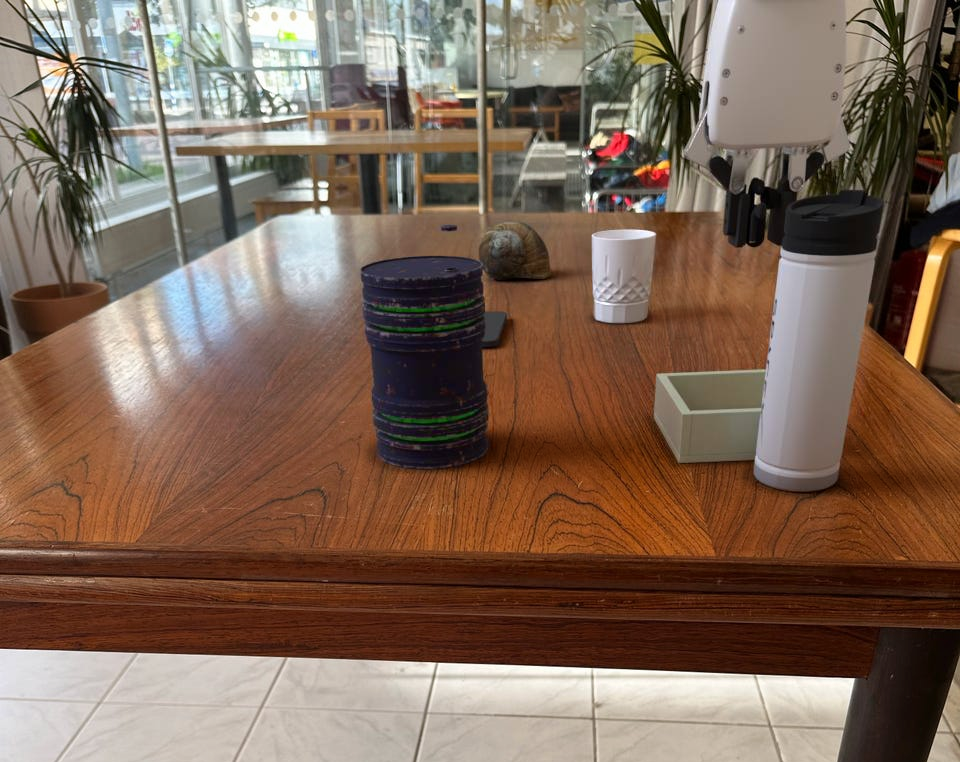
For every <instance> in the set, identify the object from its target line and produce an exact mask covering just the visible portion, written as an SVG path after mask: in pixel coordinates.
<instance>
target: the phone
mask: <svg viewBox="0 0 960 762" xmlns="http://www.w3.org/2000/svg"><path fill="white" fill-rule="evenodd" d="M484 319H485V325H486V328H485V336H484V338H483V339H482V348H492V347H493V348H494V347H496V346H498V345H499V343H500V340H501V337H502V333H503V332H504V329H505V326H506V323H507V319H508V313H507V312H506V311H500V310H499V311H498V310H497V311H496V310H494V311H493V310H490V311H488V310H487V311H486V310H485V314H484Z"/></svg>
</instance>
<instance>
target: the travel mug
mask: <svg viewBox="0 0 960 762" xmlns="http://www.w3.org/2000/svg"><path fill="white" fill-rule="evenodd" d="M869 192H870V191H869V190H868V189H867V190H866V189H848V188H847V189H846V188H843V189H840V190H839V192H838V193H830V194H820V195H814V196H808V197H804V198H801V199H797V201H795V202H792V203H791V204H789V205H788V207H787V209H786V217H785V226H784V233H785V237H783V242H782V246H780V251H779V253H780V256H781V258H779V260H778V268H777V277H776V285H775V293H774V301H773V309H772V317H771V325H770V332H769V333H770V334H769V342H768V350H767V357H766V367H765V369H766V373H765V382H764V390H763V398H762V406H761V414H760V422H759V431H758V439H757V447H756V456H755V460H754V465H753V476H754V477H755V479H756V480H757V481H758V482H759V483H761V484H763V485H764V486H767V487H769V488H773V489H776V490H781V491H784V492H785V491H786V492H793V493H809V492H810V493H811V492H817V491H822V490H825V489H828V488H830V487H831V486H833V485H834V484H835V483H836V482H837V481H838V479H839V472H840V467H841V459H842V455H843V449H844V445H845V444H844V443H845V437H846V431H847V426H848V422H849V421H848V420H849V414H850V410H851V402H852V397H853V391H854V385H855V381H856V374H857V369H858V368H857V367H858V364H859V357H860V351H861V345H862V339H863V334H864V328H865V323H866V317H867V311H868V304H869V299H870V293H871V287H872V281H873V275H874V270H875V264H876V260H874V259H875V257H876V256H877V253H878V252H877V251H878V248H877V247H878V242H879V239H878V238H877V237H878V235H879V233H880V231H881V230H880V229H881V224H882V218H883V212H884V207H885V202H884V200H883V199H881V197H878V196H873V195H869Z"/></svg>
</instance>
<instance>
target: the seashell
mask: <svg viewBox="0 0 960 762" xmlns="http://www.w3.org/2000/svg"><path fill="white" fill-rule="evenodd" d="M478 260H479V261H480V262H482V266H483V273H485V274H486V275H487V276H488V277H490V278H491V279H494V280H498V281H507V280H511V279H516V278H519V279H521V278H522V279H523V278H524V279H537V280H542V279H547V278H549V277H550V276H552V275H553V272H552V269H551V264H550V256H549V250H548V248H547V246H546V243H545V241H544V240H543V239H542V237H541V236H540V234H539V233H538V232H537V231H536V230H535V229H534V228H533V227H532V226H530V225H529V224H527V223H524V222H521V221H519V220H509V221H503V222H499V223H497V224H496V225H494V226H492V227H490V228H489V229H488V230H487V231H486V232H485V233H484V235H483V236H482V238H481V240H480V242H479V245H478Z"/></svg>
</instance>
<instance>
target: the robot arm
mask: <svg viewBox="0 0 960 762" xmlns="http://www.w3.org/2000/svg"><path fill="white" fill-rule="evenodd" d="M846 5H847V4H846V0H717V4H716V8H715V11H714V16H713V20H712V25H711V29H710V34H709V42H708V47H707V53H706V61H705V65H704V72H703V81H702V88H701V95H700V105H699V112H698V113H699V114H698V121H697V123H696V125H695V127H694V128H693V129H694V130H693V131H692V133H691V135H690V137H689V140H688V141H687V144H686V146H685V147H684V150H683V156H684V158H685V159H687V160H688V161H690V162H692V163H693V164H696V165H698V166H700V167H702V168H704V169H705V170H707V171H709V172H710V173H711V175H712V176H713V178H715V180H716V181H717V182H718V183H719V184H720V185H721V187H722V188H723V190H725V191H726V192H725V200H724V201H725V202H724V212H723V223H722V233H723V235H724V236H725V237H727V238H728V239H727V242H728V243H729V244H730V245H731V246H733V247H734V248H736V249H739V248H740V249H741V248H743V247H744V246H745V247H746V245H747V244H746V236H747V226H748V216H749V206H750V195H749V194H748V192H747V189H748V188H747V187H748V185H747V184H746V180H747V174H748V168H749V163H750V162H749V161H750V155H751V150H758V149H759V150H761V149H779V148H781V149H780V150H781V151H780V169H779V180H778V181H777V185H776V187H774V188H773V189H775V190H776V191H778V193H779V196H780V200H779V203H778V204H777V206H776V207H774V208H773V209H769V215H768V224H767V232H766V233H767V234H766V240H767V241H769V242H770V243H772V244H774V245H775V246H777V247H782V242H783V237H785V233H784V226H785V217H786V209H787V207H788V205H789V204H791V203H792V202H795V201H797V200H798V193H799V191H802V189H803V188H804V186H805V184H806V182H807V181H809V179H811V178H812V176H814V175H815V173H817V171H819V170H820V169H821V167H823V165H825V164H828V163H830V162H831V161H834V160H835V159H837V158H838V157H841V156H842V155H844V154H846V153H847V152H848V151H849V150H850V147H851V144H850V139H849V136H848V133H847V130H846V127H845V122H844V120H843V116H842V107H843V100H844V99H843V98H844V90H845V89H844V88H845V79H846V78H845V77H846V62H847V60H846V59H847V8H846V7H847V6H846ZM709 146H713V147H716V148H719V149H721V150H722V149H723V150H725V157H723V156H720V155H718V154H717V153H715V152H713V151H712V150H710V149H709ZM813 146H817V147H815V148H814V149H812V150H809V151H808V147H813Z"/></svg>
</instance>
